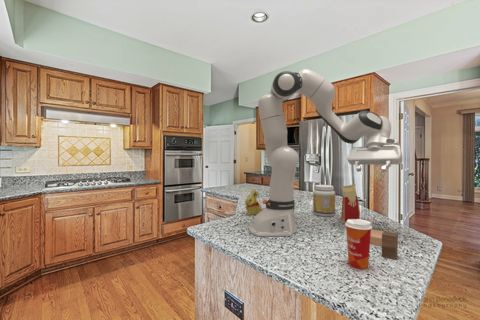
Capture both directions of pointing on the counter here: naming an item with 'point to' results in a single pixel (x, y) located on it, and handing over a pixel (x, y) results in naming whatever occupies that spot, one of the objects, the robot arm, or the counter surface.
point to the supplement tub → (324, 200)
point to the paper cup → (358, 242)
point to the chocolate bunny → (253, 203)
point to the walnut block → (389, 245)
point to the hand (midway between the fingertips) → (370, 170)
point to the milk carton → (350, 204)
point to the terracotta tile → (376, 237)
